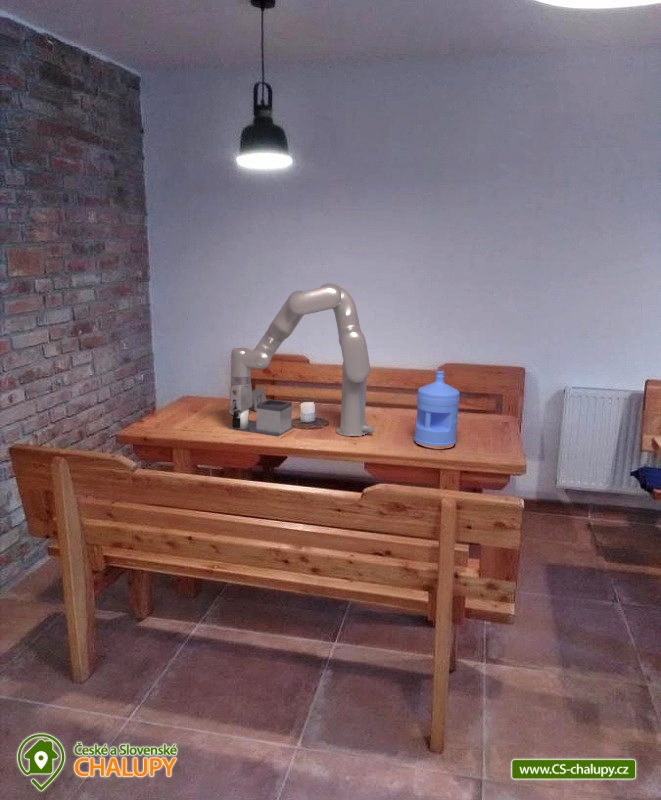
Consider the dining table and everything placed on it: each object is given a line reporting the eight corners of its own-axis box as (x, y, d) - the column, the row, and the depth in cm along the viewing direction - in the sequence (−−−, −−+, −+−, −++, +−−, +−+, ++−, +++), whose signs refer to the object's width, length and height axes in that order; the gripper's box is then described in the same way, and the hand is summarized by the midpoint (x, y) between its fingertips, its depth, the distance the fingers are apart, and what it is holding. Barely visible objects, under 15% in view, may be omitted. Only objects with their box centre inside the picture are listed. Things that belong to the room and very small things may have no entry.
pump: (251, 426, 256) (251, 405, 254) (243, 429, 250) (243, 408, 248) (234, 423, 258) (234, 402, 256) (226, 427, 253) (226, 406, 251)
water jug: (427, 435, 257) (432, 366, 251) (463, 444, 248) (469, 372, 241) (405, 443, 246) (410, 371, 239) (442, 453, 236) (448, 377, 229)
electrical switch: (256, 412, 283) (255, 391, 281) (246, 411, 285) (245, 390, 284) (268, 408, 291) (267, 387, 289) (258, 407, 293) (257, 387, 292)
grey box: (296, 429, 259) (297, 400, 256) (278, 440, 244) (278, 409, 241) (247, 422, 266) (248, 393, 264) (227, 432, 252) (227, 402, 249)
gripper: (238, 385, 241) (238, 432, 245) (260, 377, 256) (259, 421, 260) (220, 383, 243) (220, 429, 247) (243, 375, 259) (243, 419, 263)
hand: (240, 425), depth 254 cm, fingers closed on pump, 6 cm apart
